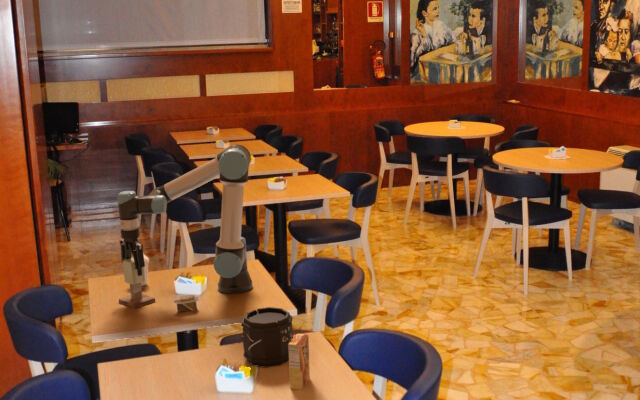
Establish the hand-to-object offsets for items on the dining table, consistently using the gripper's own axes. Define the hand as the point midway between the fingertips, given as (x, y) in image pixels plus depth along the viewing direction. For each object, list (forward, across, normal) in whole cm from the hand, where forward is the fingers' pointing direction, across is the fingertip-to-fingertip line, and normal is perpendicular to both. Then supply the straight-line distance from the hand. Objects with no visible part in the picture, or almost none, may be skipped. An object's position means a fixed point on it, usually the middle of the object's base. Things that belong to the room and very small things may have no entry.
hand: (134, 281), depth 335 cm
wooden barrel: (+9, +86, -5) cm, 87 cm away
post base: (+9, 0, 0) cm, 9 cm away
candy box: (+9, +109, -12) cm, 110 cm away
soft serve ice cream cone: (+10, -18, +15) cm, 25 cm away
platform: (+10, +26, +7) cm, 29 cm away
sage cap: (0, 0, 0) cm, 0 cm away
